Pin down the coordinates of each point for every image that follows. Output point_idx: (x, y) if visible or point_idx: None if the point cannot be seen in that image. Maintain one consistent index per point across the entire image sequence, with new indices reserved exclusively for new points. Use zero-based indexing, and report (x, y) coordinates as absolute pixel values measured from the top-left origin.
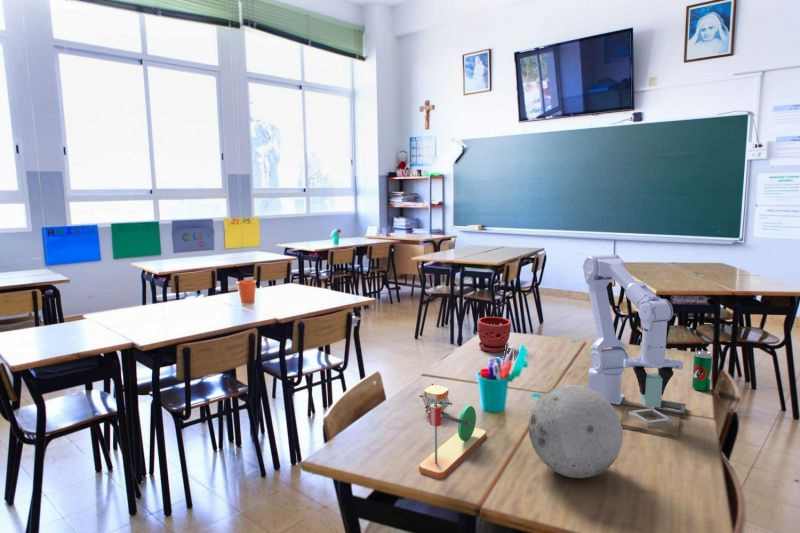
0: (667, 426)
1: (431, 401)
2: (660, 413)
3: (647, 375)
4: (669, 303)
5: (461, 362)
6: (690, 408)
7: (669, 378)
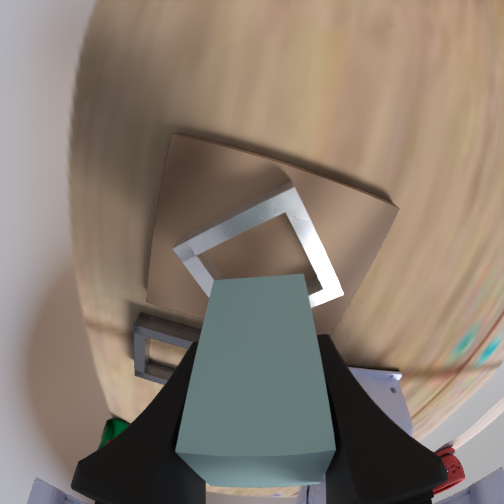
0: (197, 216)
1: None
2: None
3: (300, 472)
4: None
5: (500, 408)
6: (128, 366)
7: (116, 442)
